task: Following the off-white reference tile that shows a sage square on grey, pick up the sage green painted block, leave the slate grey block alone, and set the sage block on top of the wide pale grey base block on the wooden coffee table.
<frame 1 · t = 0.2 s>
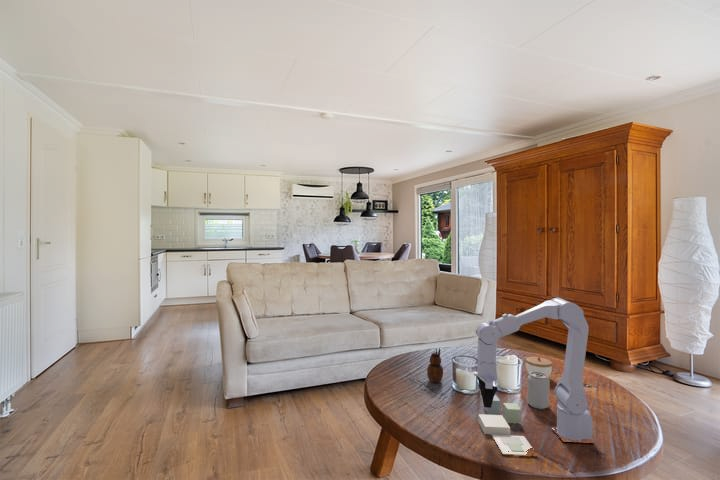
hand: (486, 401, 118), 10 cm above the table, fingers open, 7 cm apart
can: (538, 406, 136), on the table
reference tile: (513, 446, 110), on the table
lidded jar: (538, 377, 164), on the table
sage block: (511, 420, 125), on the table
wooden figurine: (435, 381, 158), on the table
slate block: (491, 411, 132), on the table
grey base block: (493, 429, 120), on the table
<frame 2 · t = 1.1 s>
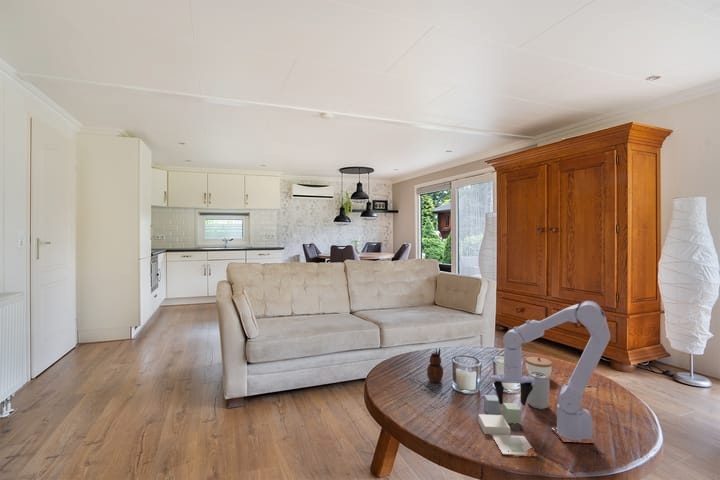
hand: (511, 403, 125), 6 cm above the table, fingers open, 7 cm apart
nothing on the table moved.
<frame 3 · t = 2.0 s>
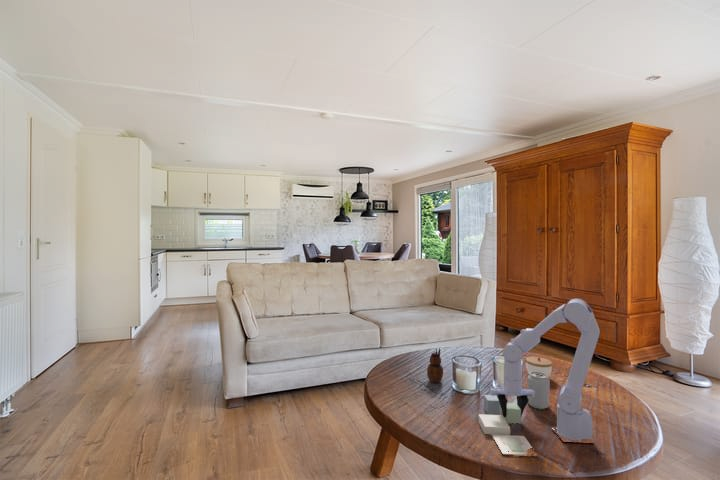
hand: (511, 416, 125), 1 cm above the table, fingers closed on sage block, 4 cm apart
sage block: (511, 420, 125), on the table, touching gripper
everything else where it was.
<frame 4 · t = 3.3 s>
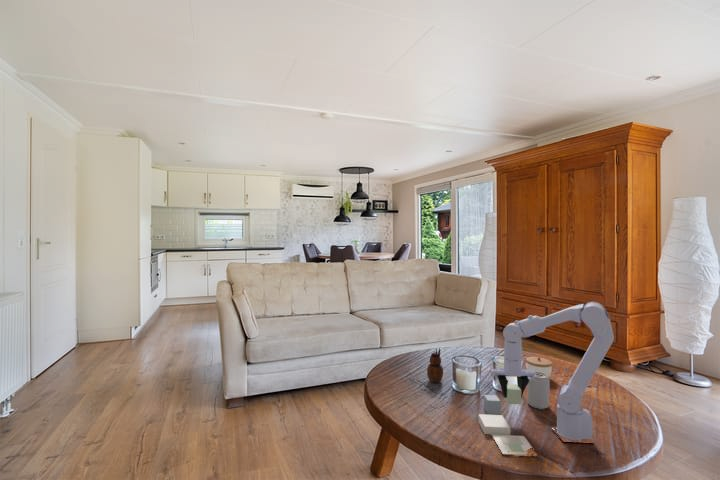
hand: (512, 396, 125), 8 cm above the table, fingers closed on sage block, 4 cm apart
sage block: (512, 401, 125), point 7 cm above the table, touching gripper
everything else where it was.
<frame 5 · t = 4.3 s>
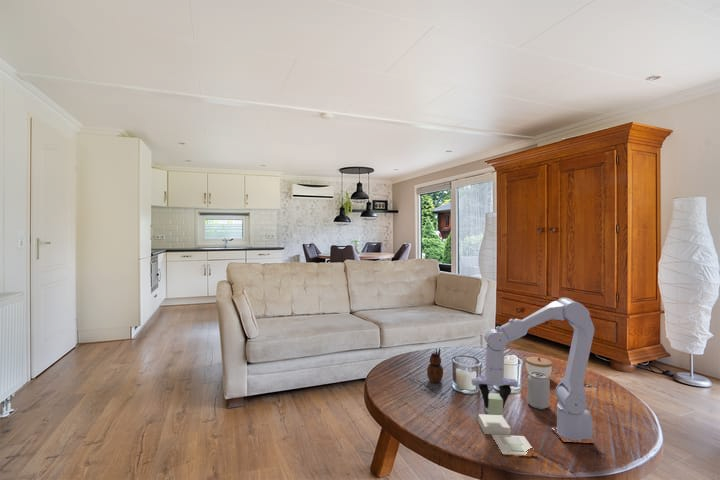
hand: (493, 407, 120), 7 cm above the table, fingers closed on sage block, 4 cm apart
sage block: (493, 411, 120), point 6 cm above the table, touching gripper
everything else where it was.
when the fingers open (6 cm above the table, at t = 4.9 s): sage block drops 2 cm, resting on grey base block.
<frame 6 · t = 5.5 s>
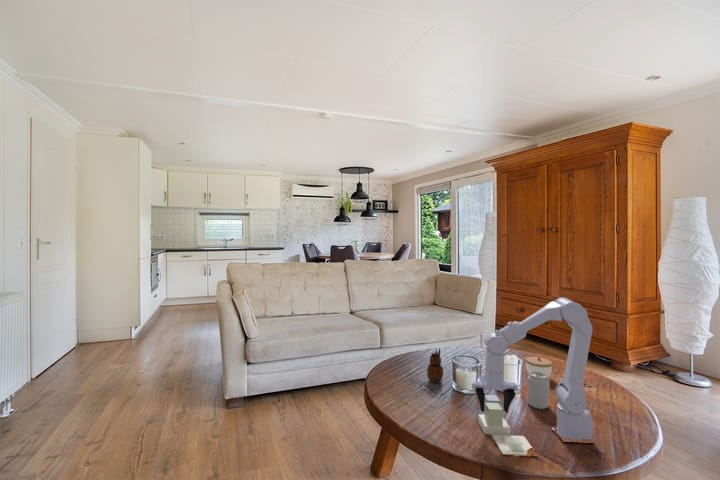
hand: (493, 410, 120), 6 cm above the table, fingers open, 7 cm apart
sage block: (493, 420, 120), point 3 cm above the table, touching grey base block
grey base block: (493, 429, 120), on the table, touching sage block
everything else where it was.
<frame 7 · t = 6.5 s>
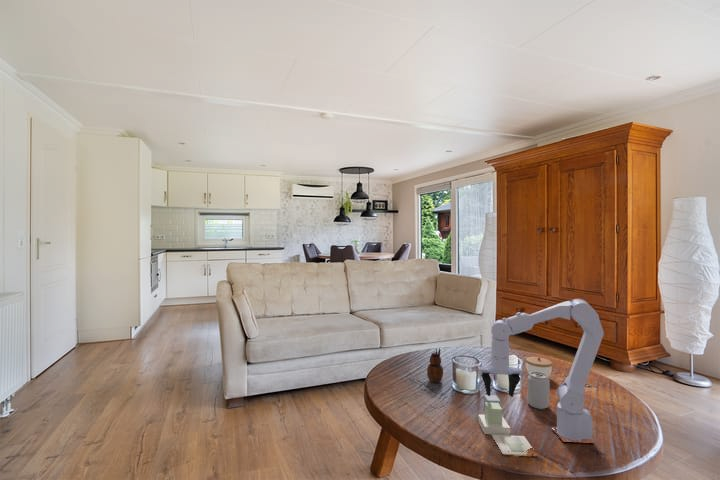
hand: (499, 395, 124), 9 cm above the table, fingers open, 7 cm apart
nothing on the table moved.
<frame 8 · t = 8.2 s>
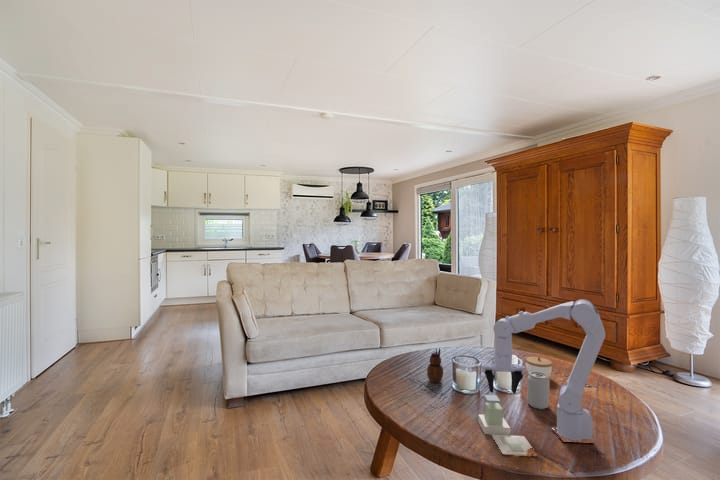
hand: (502, 391, 126), 9 cm above the table, fingers open, 7 cm apart
nothing on the table moved.
at the end: sage block 0.2 cm off-centre on the grey base block, point 3.1 cm above the grey base block's base; sage block tilted 1°; the gripper is holding nothing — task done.
